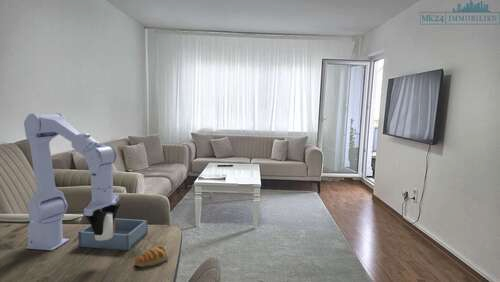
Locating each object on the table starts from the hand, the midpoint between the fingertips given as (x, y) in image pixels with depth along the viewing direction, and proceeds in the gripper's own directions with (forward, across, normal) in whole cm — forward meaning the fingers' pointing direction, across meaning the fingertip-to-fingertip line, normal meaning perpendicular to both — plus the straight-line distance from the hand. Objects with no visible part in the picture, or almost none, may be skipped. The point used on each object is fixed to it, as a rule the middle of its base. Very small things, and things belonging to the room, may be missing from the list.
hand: (103, 230), depth 92 cm
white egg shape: (+2, 0, 0) cm, 2 cm away
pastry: (+10, +2, -14) cm, 18 cm away
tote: (+9, +14, +5) cm, 18 cm away
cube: (+8, +14, +9) cm, 19 cm away
